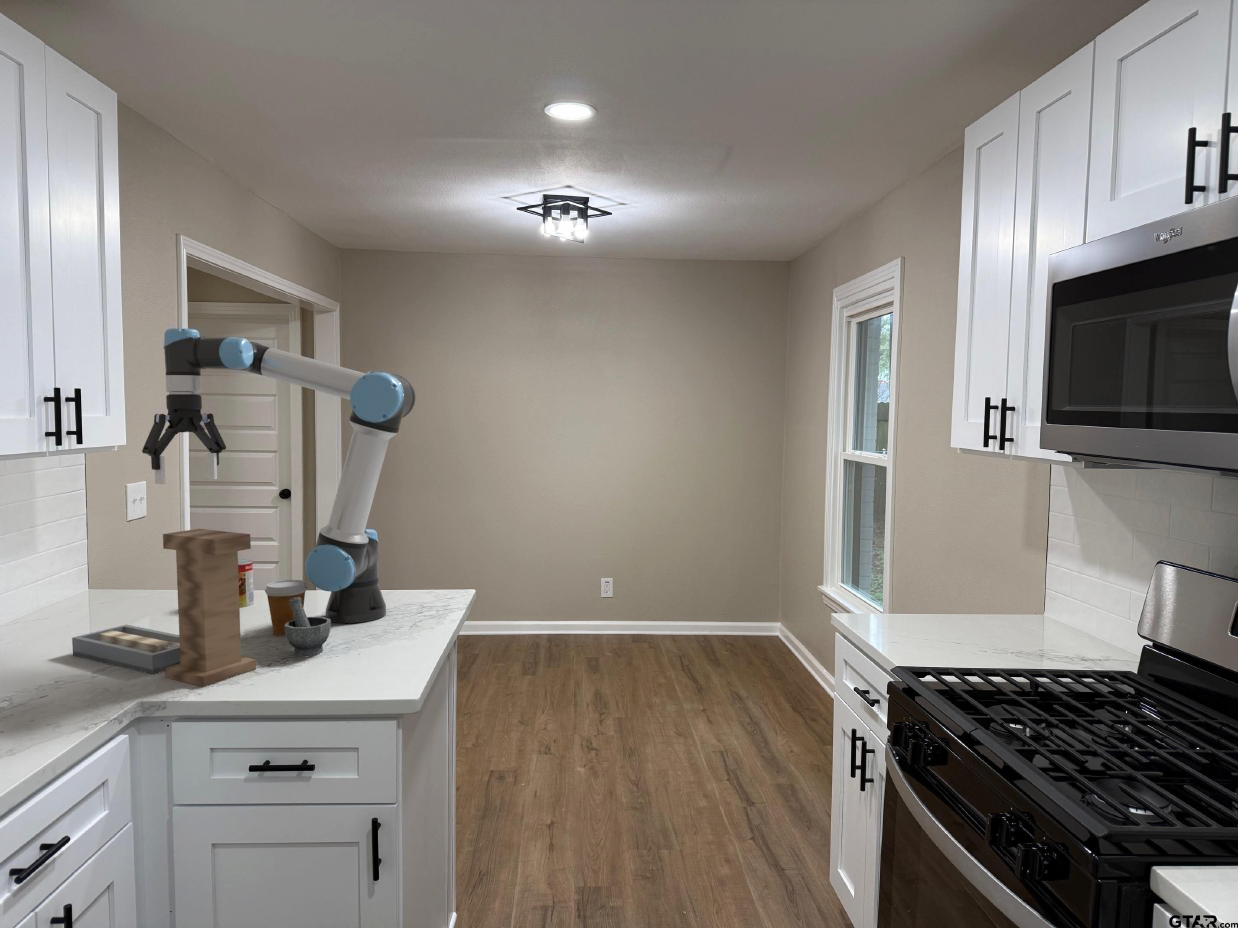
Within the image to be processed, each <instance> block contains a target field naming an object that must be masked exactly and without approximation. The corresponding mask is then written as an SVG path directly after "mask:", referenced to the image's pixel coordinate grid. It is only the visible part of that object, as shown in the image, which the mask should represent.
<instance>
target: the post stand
mask: <svg viewBox="0 0 1238 928" xmlns="http://www.w3.org/2000/svg"><path fill="white" fill-rule="evenodd" d="M251 541H252V540H251V533H243V532H242V533H241V532H234V531H224V530H214V529H204V528H194V529H189V530H181V531H180V530H179V531H174V532H167V533H163V534H162V544H163V545H162V547H163V549H165V550H173V551H175V559H176V560H175V561H176V586H177V608H178V609H177V610H178V635H179V640H180V663H179V664H176V665H173V666H169V667H166V668H165V671H164V678H165V679H169V678H171V679H170V680H174V679H175V681H178V682H182V681H184V682H183V683H186V682H187V683H186V684H190V683H191V685H196V686H199V687H203V686H204V687H203V688H205V687H207V685H208V686H210V684H211V685H213V684H217V683H219V681H220V682H223V681H226V680H228V679H227V678H229V679H232V678H234V676H235V677H237V676H236V675H238V676H240V674H241V675H243V673H244V674H246V672H247V673H249V672H252V671H255V670H257V660H256V659H253V658H249V657H244V656H242V647H241V646H242V643H241V642H242V641H241V615H240V611H241V610H240V608H239V579H238V559H239V558H238V557H239V555H238V554H239V553H238V552H240V551H246V550H250V549H251V548H252V547H251V545H252V544H251ZM251 550H252V549H251ZM231 677H232V678H231ZM225 679H226V680H225ZM222 680H223V681H222ZM216 682H217V683H216Z"/></svg>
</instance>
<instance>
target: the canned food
mask: <svg viewBox="0 0 1238 928" xmlns="http://www.w3.org/2000/svg"><path fill="white" fill-rule="evenodd" d="M253 568H254V567H253V560H252V559H247V558H246V559H244V558H242V559H240V558H238V579H239V609H240V608H246V607H250V606H252V605H254V604H255V599H254V598H255V597H254V595H255V594H254V569H253Z"/></svg>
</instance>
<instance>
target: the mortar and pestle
mask: <svg viewBox="0 0 1238 928" xmlns="http://www.w3.org/2000/svg"><path fill="white" fill-rule="evenodd" d="M301 601H302V600H301V598H300V597H295V598H292V599H290V600H289V601H288V602H289V604H290V605H291V608H292V612H293V617H294V620H291V621H288V622H286V624H285V635H284V636H285V640H287V642H288V644H289V645H290V646H291V647H293V648H294V650H293V656H295V655H296V656H295V657H298V656H309V657H314V656H313V655H315V656H318V655H321V654H322V652H324V647H323V645H324V644H325V643H326V642H327V640H328V638H329V636H330V633H331V625H332V624H331V623H332V621H331V620H330V619H328V618H326V616H325V617H324V616H307V614H306V611H305V608H303V606H302V603H301ZM320 653H321V654H320Z"/></svg>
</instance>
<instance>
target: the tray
mask: <svg viewBox="0 0 1238 928" xmlns="http://www.w3.org/2000/svg"><path fill="white" fill-rule="evenodd" d="M112 630H113V631H118V632H123V633H128V634H133V635H138V636H143V637H148V638H153V639H158V640H163V641H168V642H178V643H179V644H180V640H179V634H175V633H170V632H166V631H161V630H154V629H150V628H145V627H140V626H135V625H130V624H123V625H119V626H115V627H111V628H107V629H102V630H99V631H93V632H90V633H87V634H81V635H77V636H73V637H71V641H72V642H71V643H72V656H74V657H78V658H82V659H86V660H90V661H95V662H99V663H103V664H107V665H112V666H115V667H119V668H123V669H128V670H132V669H133V671H137V672H141V673H145V674H148V673H149V675H156V674H159V672H160V673H162V672H165V668H166V667H169V666H173V665H176V664H179V663H180V646H177V647H174V648H170V649H167V650H163V651H160V652H156V653H151V652H147V651H142V650H138V649H133V648H129V647H124V646H120V645H115V644H111V643H106V642H102V641H99V634H100V633H104V632H108V631H112Z"/></svg>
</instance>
